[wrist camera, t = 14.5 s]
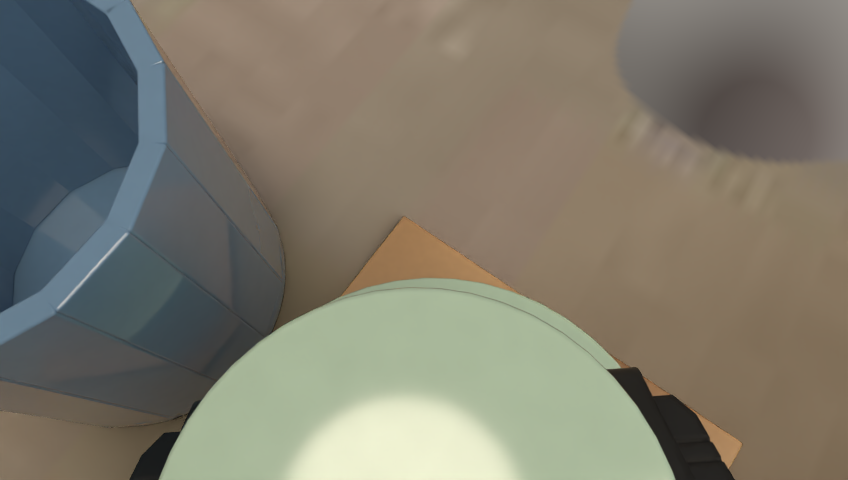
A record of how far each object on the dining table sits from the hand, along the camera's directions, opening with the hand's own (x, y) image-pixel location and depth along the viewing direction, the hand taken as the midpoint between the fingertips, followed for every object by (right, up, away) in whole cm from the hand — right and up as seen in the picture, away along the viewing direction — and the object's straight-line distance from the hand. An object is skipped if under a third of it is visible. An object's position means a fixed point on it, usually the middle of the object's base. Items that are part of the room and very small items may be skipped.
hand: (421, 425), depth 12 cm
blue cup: (-8, +2, +8) cm, 12 cm away
